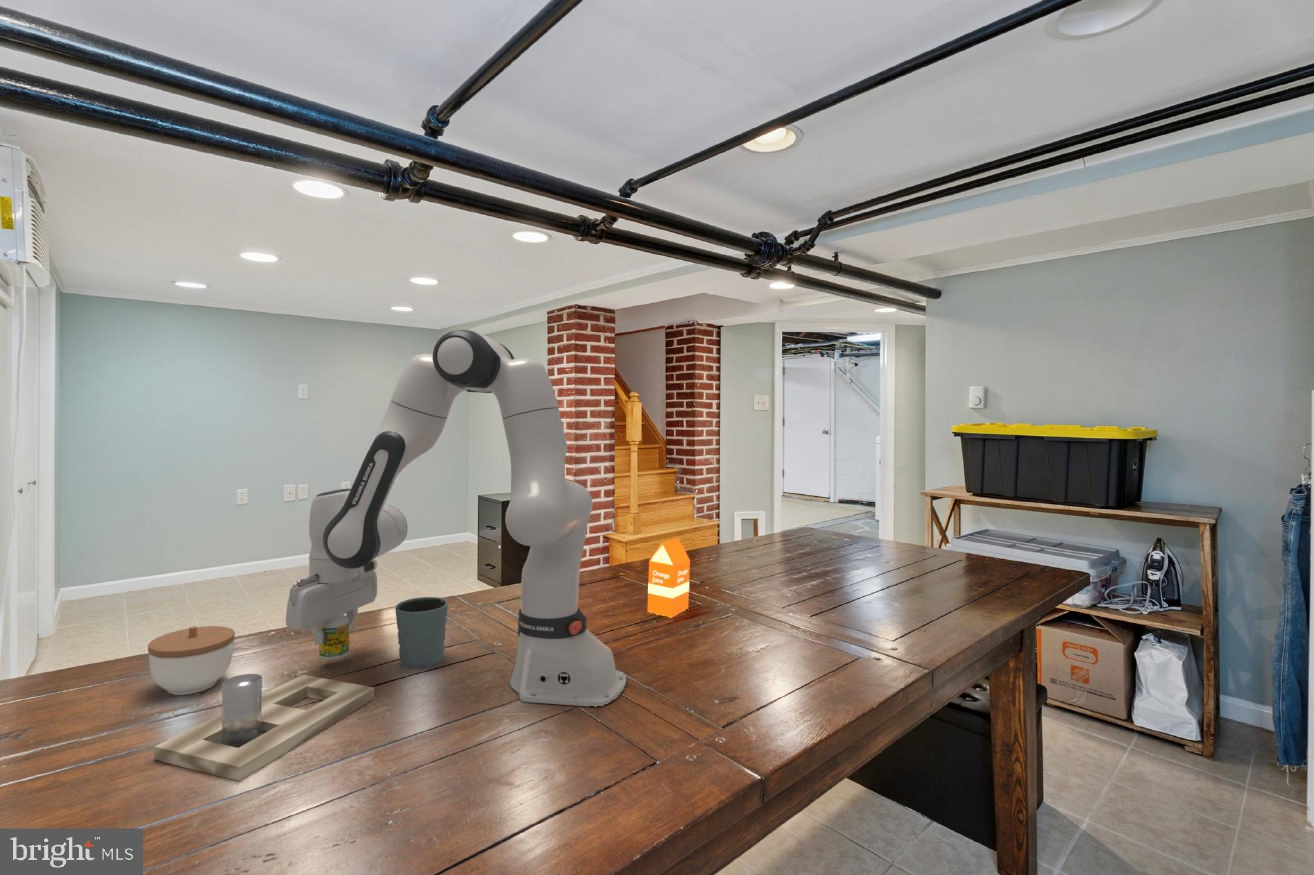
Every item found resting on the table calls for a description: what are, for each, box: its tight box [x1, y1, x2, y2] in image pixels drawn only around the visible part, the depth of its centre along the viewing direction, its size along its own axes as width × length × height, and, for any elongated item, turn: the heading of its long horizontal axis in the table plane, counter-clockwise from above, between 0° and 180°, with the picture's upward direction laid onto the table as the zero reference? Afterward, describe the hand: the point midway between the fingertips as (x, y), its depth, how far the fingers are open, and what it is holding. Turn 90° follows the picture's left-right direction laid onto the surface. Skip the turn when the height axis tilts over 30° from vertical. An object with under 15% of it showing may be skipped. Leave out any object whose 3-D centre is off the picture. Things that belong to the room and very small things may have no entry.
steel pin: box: [221, 673, 263, 748], centre depth 92 cm, size 5×5×10 cm
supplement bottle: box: [318, 609, 350, 661], centre depth 122 cm, size 5×5×10 cm
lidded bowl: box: [147, 625, 236, 696], centre depth 111 cm, size 13×13×11 cm
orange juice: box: [647, 537, 691, 618], centre depth 161 cm, size 8×9×20 cm
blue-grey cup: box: [394, 596, 449, 670], centre depth 126 cm, size 10×10×12 cm
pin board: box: [153, 674, 375, 782], centre depth 98 cm, size 16×26×2 cm, turn 165°
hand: (334, 637), depth 122 cm, fingers closed on supplement bottle, 5 cm apart
